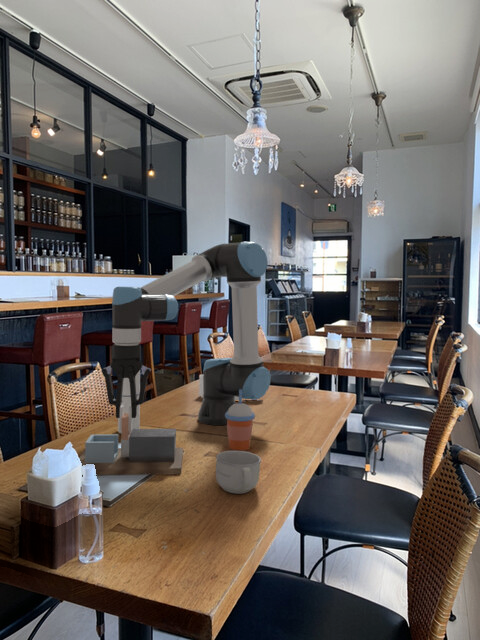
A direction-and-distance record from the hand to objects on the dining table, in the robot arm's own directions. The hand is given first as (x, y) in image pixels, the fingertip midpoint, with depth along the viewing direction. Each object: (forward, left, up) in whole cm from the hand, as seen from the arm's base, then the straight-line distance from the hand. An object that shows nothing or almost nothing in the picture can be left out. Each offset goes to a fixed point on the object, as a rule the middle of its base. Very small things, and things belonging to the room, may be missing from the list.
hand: (126, 429), depth 125 cm
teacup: (-29, +19, -10) cm, 36 cm away
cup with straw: (-32, -12, -10) cm, 36 cm away
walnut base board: (-1, 0, -9) cm, 10 cm away
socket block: (+7, 0, -8) cm, 10 cm away
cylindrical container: (+4, -30, -10) cm, 32 cm away
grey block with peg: (-5, 0, -7) cm, 9 cm away
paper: (-34, -78, -10) cm, 86 cm away
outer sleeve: (-7, 0, -8) cm, 11 cm away
